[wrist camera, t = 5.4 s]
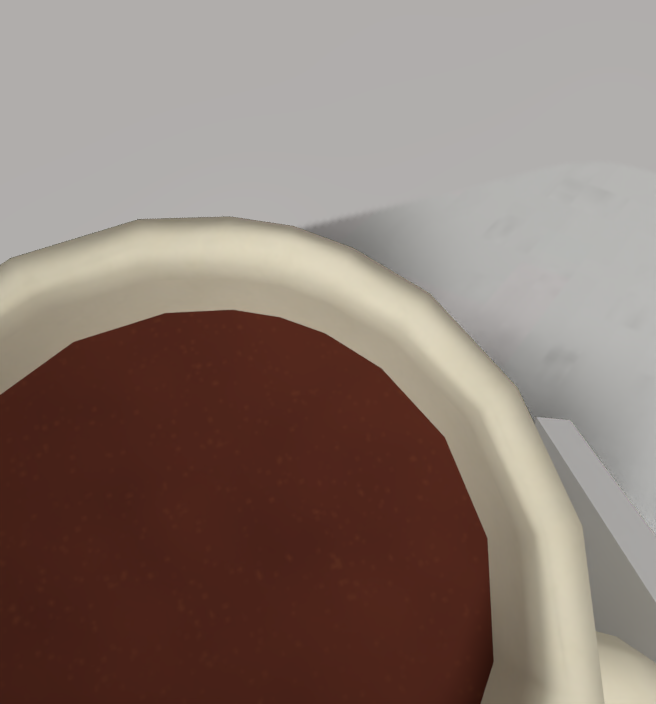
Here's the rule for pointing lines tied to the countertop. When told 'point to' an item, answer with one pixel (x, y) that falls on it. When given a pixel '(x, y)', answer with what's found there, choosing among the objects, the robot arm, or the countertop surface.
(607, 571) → the robot arm
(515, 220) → the countertop surface
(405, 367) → the character mug
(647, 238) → the countertop surface
